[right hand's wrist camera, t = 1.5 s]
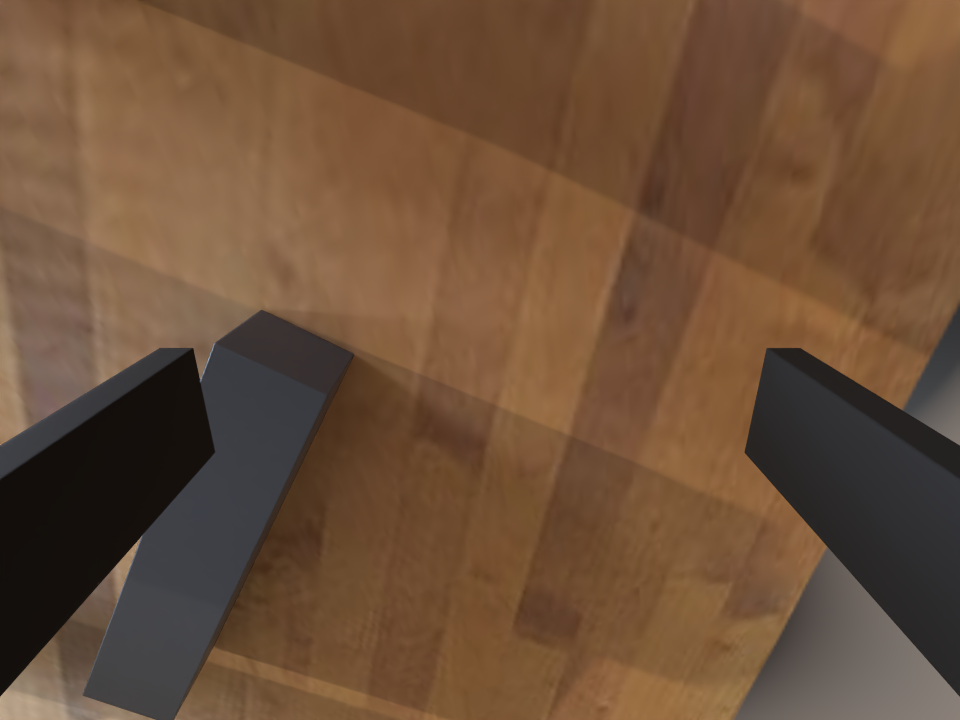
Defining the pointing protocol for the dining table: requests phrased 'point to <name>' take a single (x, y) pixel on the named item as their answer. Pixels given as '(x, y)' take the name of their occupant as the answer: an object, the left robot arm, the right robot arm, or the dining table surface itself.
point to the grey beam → (217, 513)
